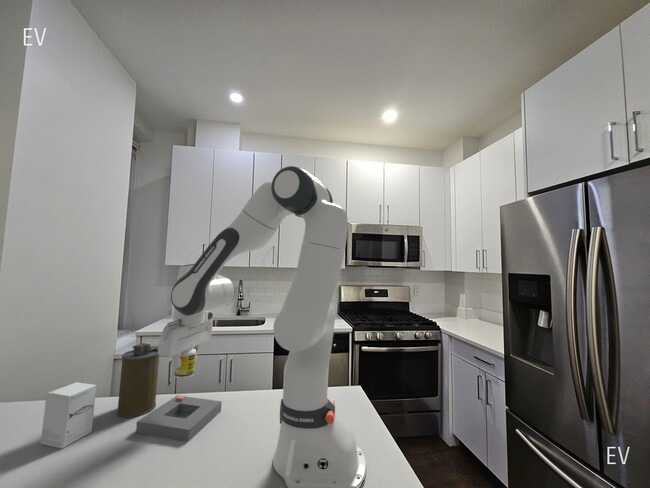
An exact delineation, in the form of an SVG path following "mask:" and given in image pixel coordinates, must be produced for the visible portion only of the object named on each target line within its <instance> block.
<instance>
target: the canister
mask: <svg viewBox="0 0 650 488" xmlns="http://www.w3.org/2000/svg"><path fill="white" fill-rule="evenodd" d="M131 348H132V350H129V351H126V352H124V353H122V354H121V371H120V378H119V379H120V382H119V393H118V404H117V410H116V415H117V416H119V417H121V418H134V417H139V416H142V415H145V414H146V415H147V413H148V414H149V413H151V412H152V411H154V410H155V408H156V406H157V402H156V399H157V388H158V387H157V386H158V375H159V364H160V356H159V354H158V347H155V346H154V347H151V344H149V343H147V342H146V343H144V342H141V343H139V344H136V345H134V346H132V347H131Z"/></svg>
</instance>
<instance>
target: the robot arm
mask: <svg viewBox="0 0 650 488" xmlns="http://www.w3.org/2000/svg"><path fill="white" fill-rule="evenodd" d="M329 190H330V189H328V188H327V187H326V186H324V185H323V183H322V182H321V181H320V180H319V179H318V178H317V177H315V176H314V175H312V174H311V173H309V172H308V171H307V170H305V169H303V168H301V167H298V166H294V165H293V166H292V165H288V166H286V167H283V168H281V169H280V170H279V171H278V172H277V173H276V174H275V175H274V177H273V179H272V181H266V182H264V183H262V184H261V185H260V186H259V187H258V189H256V190H255V192H253V194H252V195H251V197H250V198H248V201H247V202H246V204H244V207H243V208H242V209H241V211H240V213H239V214H238V215H237V217H236V218H235V219H234V220H233V221H232V223H230V224H229V225H228V226H227V227H226V228H225V229H223V230H222V231H220V232H219V233H218V234H217V235H216V237H215V238H214V239H213V240H212V241H211V242H210V244H209V245H208V246H207V247H206V248H205V250H204V251H203V253H202V254H201V255H200V257H199V258H198V259H197V260H196V262H195V263H189V264H185V265H183V266H181V267H180V269H179V270H178V275H177V278H176V282H175V283H174V285H173V287H172V289H171V292H170V301H171V304H172V305H173V316H172V321H169V322H167V324H166V325H165V327H163V328H162V332H161V334H160V338H159V342H158V343H159V344H158V347H157V348H158V354H159V358H160V357H161V358H168V359H169V358H172V361H173V368H174V369H175V368H180V367H181V366H182V363H183V361H182V360H181V359H180V356H181V352H183V351H186V350H188V349H190V347H191V344H192V343H194V347H193V348H194V349H195V350H196V359H195V360H197V359H198V353H199V351H200V349H201V345H202V344H203V343H207V342H208V341H210V339H211V338H212V335H213V326H214V325H213V324H214V323H213V322H214V321H213V319H214V318H215V312H213V311H212V310H216V309H217V310H218V309H221V308H224V307H227V306H229V305H230V304H231V303H232V302H233V300H234V297H235V294H236V293H235V292H236V291H235V285H234V283H233V282H232V280H231V279H230V278H228V277H227V276H224V275H220V274H219V273H220V271H221V270H222V269H223V267H224V266H225V265H226V264H227V263H228V262H229V261H230V260H231V259H233V258H235V257H236V256H238V255H241V254H243V253H247V252H251V251H255V250H259V249H261V248H263V247H264V246H266V244H268V242H269V241H271V239H273V237H274V235H275V234H276V232H277V230H278V229H279V227H280V225H281V224H282V222H283V220H284V219H285V218H286V217H287V216H289V215H295V217H299V218H302V219H303V220H304V225H305V226H304V233H303V236H302V237H303V239H302V242H301V248H300V253H299V258H298V261H297V262H298V263H297V266H296V270H295V274H294V277H293V279H292V282H291V284H290V287H289V289H288V292H287V294H286V297H285V300H284V302H283V305H282V307H281V309H280V311H279V313H278V314H277V315H276V317H275V319H274V323H273V335H274V338H275V340H276V342H277V344H278V345H279V346H280V347H281V348H283V349H284V350H287V351H289V353H288V356H287V359H286V361H285V364H284V368H283V369H284V370H283V387H282V399H280V405H279V424H280V427H279V428H280V429H279V433H278V439H277V444H276V449H275V451H274V454H273V458H272V466H273V469H274V470H275V472H276V473H277V474H278V475H279V476H281V477H282V479H283V481H284V483H285V485H286V487H287V488H357V487H359V486H360V485H361V483H362V482H363V480H364V481H365V479H366V475H365V473H367V462H366V457H365V454H364V453H365V452H364V451H363V450H362V449H361V448H360V447H359V446H357V442H356V438H355V434H354V432H353V431H352V429H351V428H349V426H347V425H346V424H345V423H344V422H343V421H341V419H339V418H338V417H337V416H336V402H335V400H333V401H332V402H331V400H330V399H328V390H329V389H328V388H329V386H328V385H329V369H330V367H329V366H330V360H331V354H332V346H333V339H334V332H335V331H334V330H335V321H336V309H335V307H334V305H333V303H331V302H332V299H333V297H334V294H335V291H336V288H337V285H338V283H339V281H340V276H341V270H342V265H343V260H344V257H345V250H346V244H347V237H348V227H349V226H348V220H349V219H348V218H349V217H348V215H347V214H348V213H347V212H346V210H345V209H344V208H343V207H341V206H340V205H338V204H335V203H334V201H333V196H332V193H331V192H330V191H329ZM360 455H361V456H360ZM364 478H365V479H364ZM363 483H364V482H363Z"/></svg>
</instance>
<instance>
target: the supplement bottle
mask: <svg viewBox="0 0 650 488" xmlns="http://www.w3.org/2000/svg"><path fill="white" fill-rule="evenodd" d="M193 347H194V343H192V344H191V347H190V349H188V350H186V351H183V352H181V356H180V359H181V360H182V361H183V363H182V366H181V367H180V368H174V374H173V376H174V378H176V379H178V380H181V379H183V380H184V379H189V378H191V377H193V376H194V375H195V369H196V360H197V359H196V350H195V349H194V348H193Z"/></svg>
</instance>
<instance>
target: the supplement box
mask: <svg viewBox="0 0 650 488" xmlns="http://www.w3.org/2000/svg"><path fill="white" fill-rule="evenodd" d="M96 392H97V385H96V384H93V383H83V382H78V381H76V382H73V383H71V384H68V385H65V386H63V387H60V388H57V389H55V390H52V391H48V392H47V393H46V395H45V403H44V413H43V422H42V429H41V438H40V445H43V446H48V447H53V448H57V449H64V448H66V447H68V446H69V445H71V444H73V443H74V442H76V441H78V440H80V439H81V438H83V437H85V436H86V435H89V434H91V433H93V432H92V430H93V423H94V413H95V403H96V402H95V401H96Z"/></svg>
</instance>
